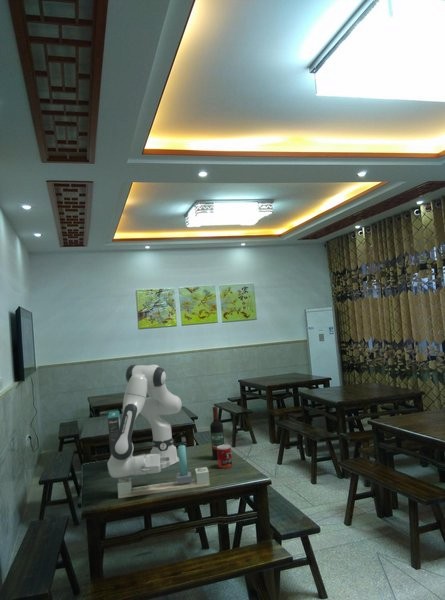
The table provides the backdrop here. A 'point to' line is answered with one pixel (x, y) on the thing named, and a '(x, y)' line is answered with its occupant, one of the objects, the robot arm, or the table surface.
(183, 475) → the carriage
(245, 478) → the table surface
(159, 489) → the rail board
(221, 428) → the wine bottle
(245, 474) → the table surface
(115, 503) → the table surface
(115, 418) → the cake mix box
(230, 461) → the canned food
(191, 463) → the table surface
